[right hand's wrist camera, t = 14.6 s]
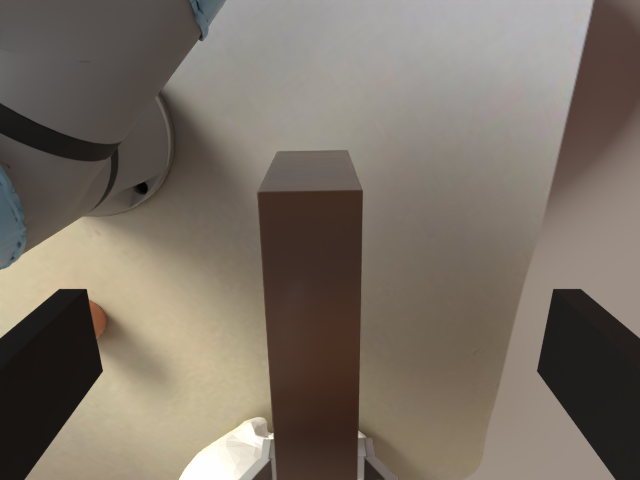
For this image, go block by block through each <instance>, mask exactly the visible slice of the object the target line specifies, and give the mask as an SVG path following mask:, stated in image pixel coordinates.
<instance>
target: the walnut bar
mask: <svg viewBox="0 0 640 480" xmlns="http://www.w3.org/2000/svg"><path fill="white" fill-rule="evenodd" d="M257 195H258V210H259V225H260V240H261V255H262V270H263V286H264V301H265V316H266V331H267V346H268V361H269V376H270V391H271V406H272V422H273V437H274V452H275V467H276V480H358V425H359V370H360V316H361V261H362V206H363V191H362V188H361V185H360V183H359V180H358V177H357V175H356V172H355V169H354V166H353V164H352V161H351V158H350V156H349V153H348V151H347V150H336V151H278V152H277V153H276V155H275V157H274V159H273V161H272V163H271V166H270V168H269V170H268V172H267V174H266V176H265V178H264V180H263V182H262V184H261V186H260V188H259V191H258V193H257Z"/></svg>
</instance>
